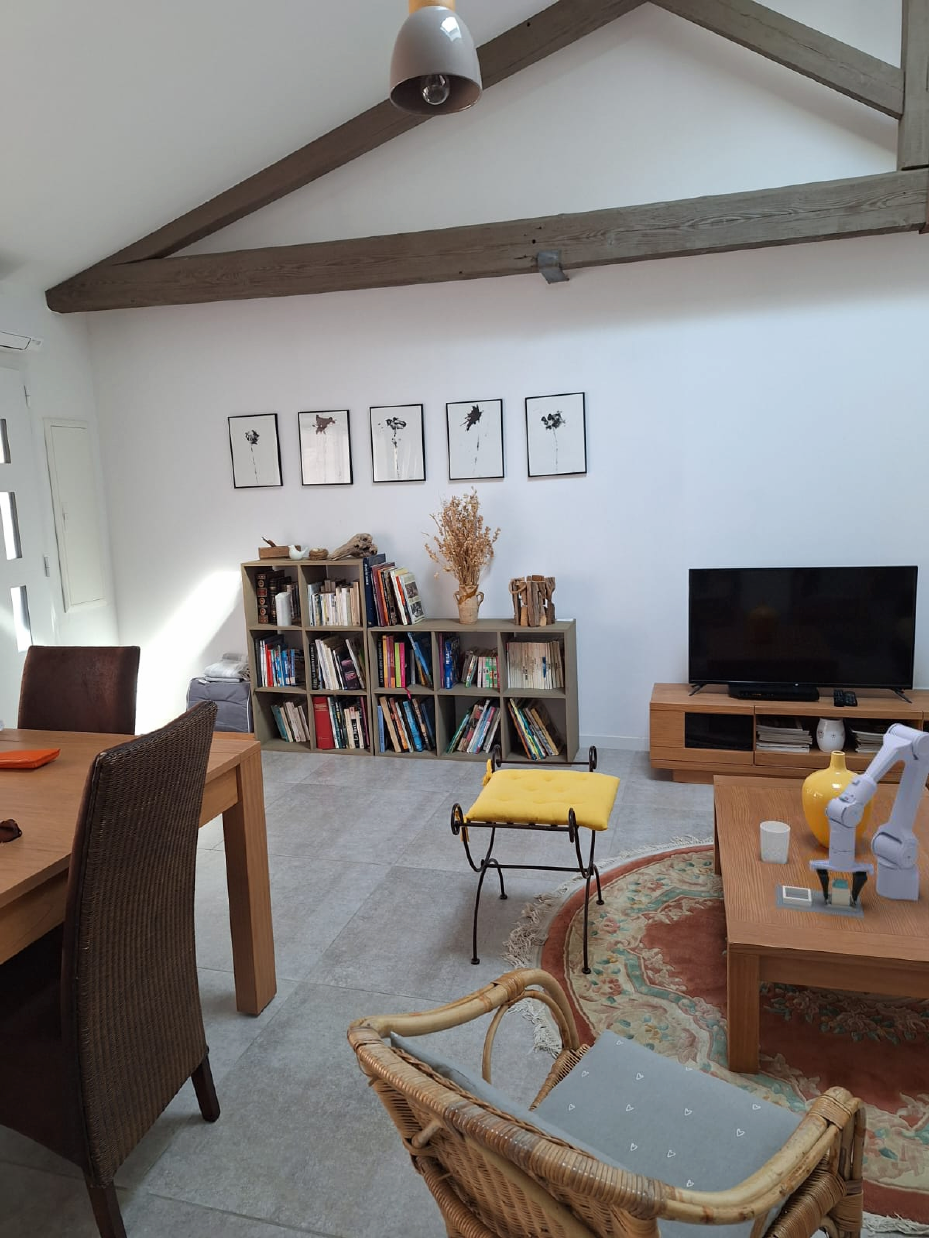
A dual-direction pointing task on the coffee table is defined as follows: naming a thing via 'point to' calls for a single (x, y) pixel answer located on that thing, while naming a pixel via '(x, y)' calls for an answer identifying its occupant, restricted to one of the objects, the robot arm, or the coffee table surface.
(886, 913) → the coffee table surface
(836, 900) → the plug
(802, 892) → the port
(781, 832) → the white cup
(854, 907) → the frame
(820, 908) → the panel plate
